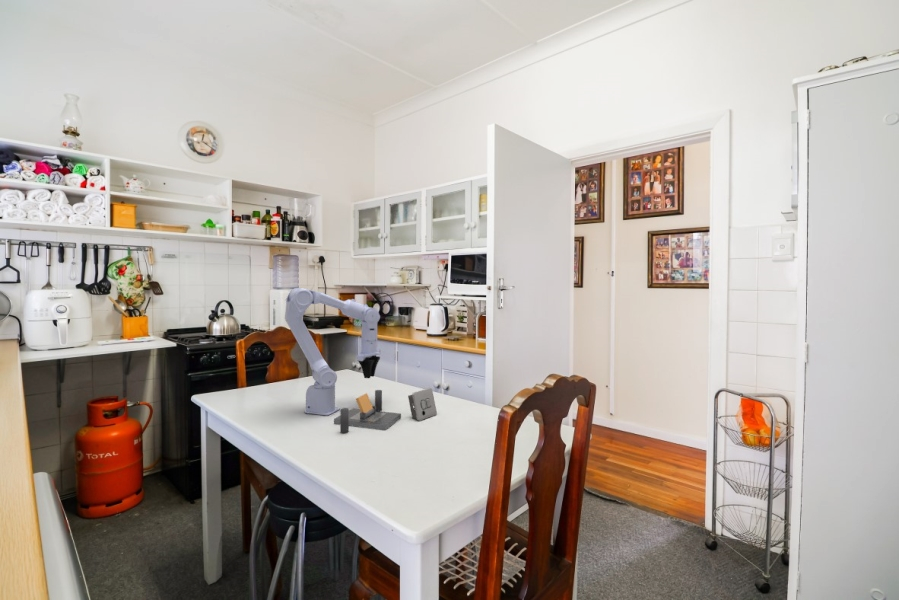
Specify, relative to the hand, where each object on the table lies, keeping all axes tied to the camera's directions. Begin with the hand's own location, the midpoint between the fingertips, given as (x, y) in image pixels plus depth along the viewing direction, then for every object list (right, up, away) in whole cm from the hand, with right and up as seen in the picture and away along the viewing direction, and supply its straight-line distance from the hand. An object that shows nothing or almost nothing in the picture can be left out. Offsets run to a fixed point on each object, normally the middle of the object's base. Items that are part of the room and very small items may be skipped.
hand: (369, 377), depth 159 cm
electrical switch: (+20, -12, -12) cm, 26 cm away
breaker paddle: (+3, -9, -17) cm, 20 cm away
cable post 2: (+4, -11, -5) cm, 13 cm away
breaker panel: (+3, -11, -17) cm, 21 cm away
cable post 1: (-2, -12, -27) cm, 30 cm away
